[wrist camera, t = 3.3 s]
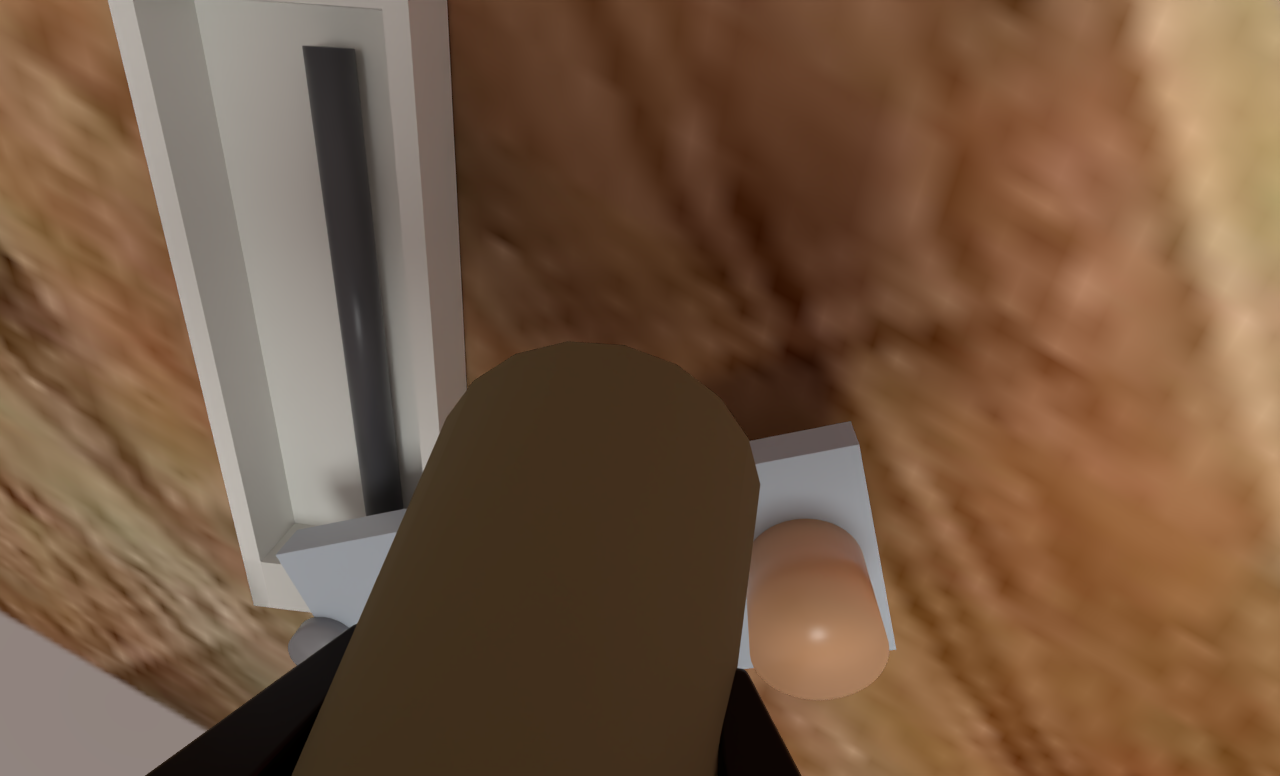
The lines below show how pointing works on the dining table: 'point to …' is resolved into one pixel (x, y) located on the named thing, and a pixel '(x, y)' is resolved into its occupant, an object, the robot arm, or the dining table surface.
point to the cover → (777, 586)
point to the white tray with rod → (307, 246)
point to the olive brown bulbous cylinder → (556, 583)
